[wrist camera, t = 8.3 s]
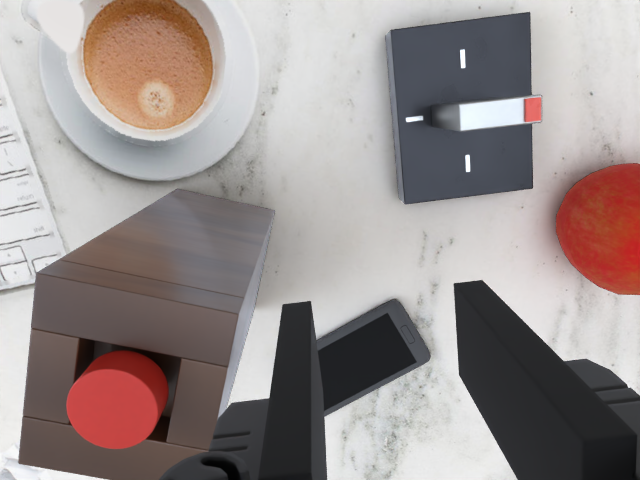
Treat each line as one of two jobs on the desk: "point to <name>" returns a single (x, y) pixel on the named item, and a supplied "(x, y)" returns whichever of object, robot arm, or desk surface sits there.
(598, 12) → the desk surface
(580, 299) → the desk surface
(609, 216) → the apple
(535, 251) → the desk surface
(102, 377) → the button
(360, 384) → the cell phone
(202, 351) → the block
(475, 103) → the stove knob
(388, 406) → the desk surface
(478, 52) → the panel
